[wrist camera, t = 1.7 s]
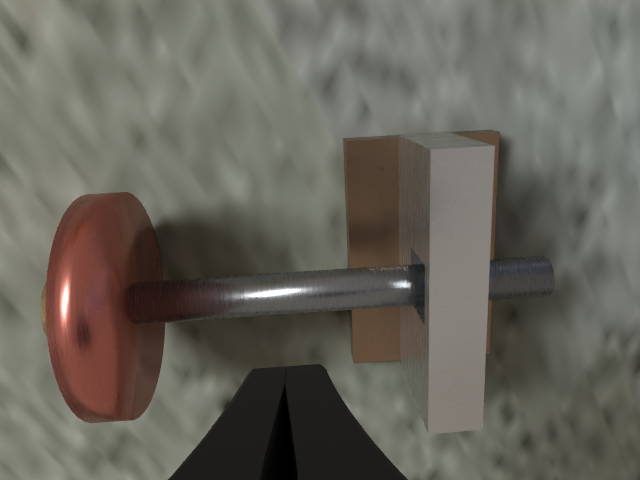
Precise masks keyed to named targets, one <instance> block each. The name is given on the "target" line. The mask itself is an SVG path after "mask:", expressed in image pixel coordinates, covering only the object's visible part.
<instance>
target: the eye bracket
mask: <svg viewBox="0 0 640 480" xmlns="http://www.w3.org/2000/svg"><path fill="white" fill-rule="evenodd" d="M499 137H500V132H498V131H493V130H482V131H464V132H436V133H418V134H401V135H394V136H376V137H359V138H343V142H344V168H345V194H346V221H347V247H348V269H349V268H365V267H380V266H395V265H411V264H424V265H425V305H413V306H399V307H384V308H369V309H355V310H350V326H351V352H352V357H353V362H354V363H366V362H380V361H394V360H400V363H401V366H402V368H403V371H404V373H405V376H406V378H407V381H408V384H409V386H410V389H411V391H412V394H413V396H414V399H415V402H416V404H417V407H418V409H419V412H420V414H421V417H422V419H423V422H424V425H425V427H426V430H427V432H428V434H434V433H447V432H460V431H473V430H483V408H484V385H485V362H486V354H490V334H491V312H492V300H488V292H489V269H490V259H494V246H495V224H496V202H497V180H498V159H499Z"/></svg>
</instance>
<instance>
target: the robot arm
mask: <svg viewBox="0 0 640 480" xmlns="http://www.w3.org/2000/svg"><path fill="white" fill-rule="evenodd" d="M168 480H408V479H407V478H406V477H405V476H404V475H403V474H402V473H401V472H400V471H399V470H398V469H397V468H396V467H395V466H394V465H393V464H392V463H391V461H390V460H389V459H388V458H387V457H386V456H385V455H384V453H383V452H382V451H381V450H380V449H379V448H378V447H377V445H376V444H375V443H374V442H373V441H372V439H371V438H370V437H369V436H368V434H367V433H366V432H365V431H364V429H363V428H362V427H361V425H360V424H359V423H358V421H357V420H356V419H355V417H354V416H353V414H352V413H351V412H350V410H349V409H348V407H347V406H346V404H345V403H344V402H343V400H342V398H341V397H340V395H339V393H338V392H337V390H336V388H335V387H334V385H333V383H332V381H331V379H330V377H329V375H328V373H327V370H326V369H325V368H324V367H323V366H322V365H321V364H316V365H302V366H288V367H274V368H260V369H253V370H252V371H251V372H250V373H249V374H248V375H247V377H246V378H245V380H244V382H243V383H242V385H241V386H240V388H239V389H238V391H237V393H236V394H235V396H234V397H233V399H232V400H231V401H230V403H229V404H228V406H227V407H226V409H225V410H224V412H223V413H222V414H221V416H220V417H219V418H218V420H217V421H216V422H215V424H214V425H213V426H212V428H211V429H210V430H209V432H208V433H207V434H206V436H205V437H204V438H203V439H202V441H201V442H200V443H199V444H198V446H197V447H196V448H195V449H194V450H193V451H192V453H191V454H190V455H189V456H188V457H187V458H186V460H185V461H184V462H183V463H182V464H181V466H180V467H179V468H178V469H177V470H176V471H175V473H174V474H173V475H172V476H171V477H170V478H169V479H168Z"/></svg>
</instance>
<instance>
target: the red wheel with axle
mask: <svg viewBox="0 0 640 480" xmlns="http://www.w3.org/2000/svg"><path fill="white" fill-rule="evenodd" d="M553 288H554V271H553V267H552V265H551V262H550V261H549V259H548V258H547V257H545V256H533V257H518V258H502V259H490V269H489V292H488V300H502V299H516V298H531V297H546V296H550V295H551V293H552V291H553ZM413 305H425V265H424V264H411V265H395V266H380V267H365V268H349V269H334V270H319V271H304V272H288V273H273V274H258V275H242V276H227V277H212V278H196V279H181V280H166V281H164V280H163V271H162V264H161V258H160V253H159V248H158V244H157V240H156V236H155V233H154V229H153V226H152V224H151V221H150V218H149V216H148V214H147V212H146V210H145V208H144V207H143V205H142V203H141V202H140V201H139V200H138V199H137V198H136V197H135V196H134V195H133V194H130V193H128V192H120V193H103V194H86V195H83V196H80V197H79V198H77V199H76V200H75V201H74V202H73V203H72V204H71V205H70V206H69V207H68V209H67V210H66V212H65V214H64V215H63V217H62V219H61V221H60V224H59V226H58V228H57V231H56V234H55V237H54V240H53V245H52V249H51V253H50V258H49V265H48V271H47V282H46V283H45V286H44V288H43V292H42V297H41V309H40V310H41V321H42V325H43V329H44V332H45V334H46V336H47V338H48V346H49V352H50V357H51V363H52V366H53V370H54V374H55V378H56V380H57V383H58V386H59V389H60V391H61V393H62V395H63V397H64V399H65V402H66V403H67V405H68V406H69V408H70V409H71V411H72V412H73V413H74V414H75V415H76V416H77V417H78V418H80V419H81V420H83V421H84V422H88V423H100V422H114V421H127V420H135V419H137V418H139V417H140V416H141V415H142V414H143V413H144V411H145V410H146V409H147V407H148V405H149V403H150V401H151V399H152V397H153V394H154V392H155V389H156V385H157V382H158V378H159V373H160V368H161V363H162V356H163V348H164V337H165V322H178V321H193V320H207V319H222V318H237V317H252V316H266V315H281V314H296V313H310V312H325V311H340V310H355V309H369V308H384V307H399V306H413Z"/></svg>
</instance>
